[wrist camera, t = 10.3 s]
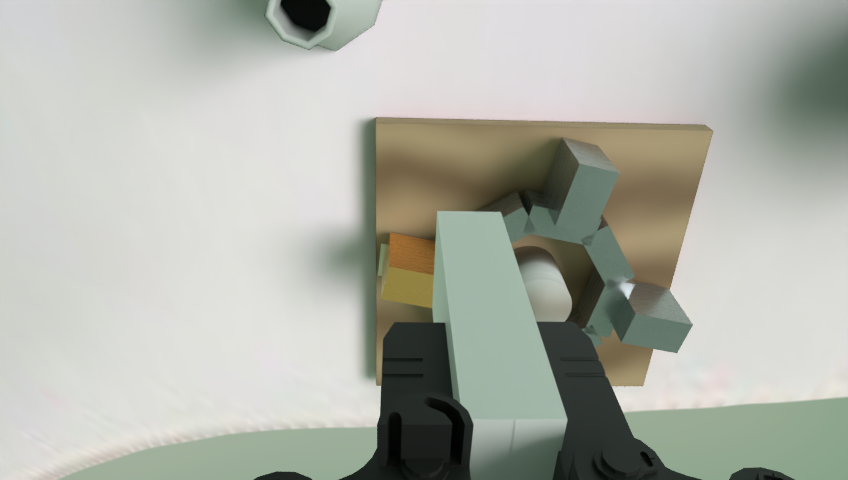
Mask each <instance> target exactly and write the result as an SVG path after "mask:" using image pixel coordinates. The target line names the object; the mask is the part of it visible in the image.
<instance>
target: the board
mask: <svg viewBox="0 0 848 480" xmlns="http://www.w3.org/2000/svg"><path fill="white" fill-rule="evenodd" d="M712 134H713V130H711V129H710V128H709V127H707V126H706V125H680V124H637V123H595V122H552V121H509V120H466V119H424V118H381V117H376V386H381V382H382V354H383V338H384V337H385V335H386V334H387V332H388V331H389V329H390V328H391V326H392V325H393V323H394V322H433V310H432V308H428V307H422V306H417V305H411V304H406V303H400V302H395V301H390V300H384V299H381V286H382V264H383V259H384V255H385V251H386V247H387V243H388V239H389V235H390V233H395V234H400V235H405V236H410V237H415V238H420V239H425V240H430V241H435V242H436V223H437V211H473V212H478V211H480V210H481V209H483V208H485V207H487V206H489V205H491V204H493V203H494V202H496V201H498V200H500V199H502V198H504V197H505V196H507V195H509V194H511V193H513V192H515V191H516V190H517V192H518V194H519V196H520V197H521V199H523V196H524V193H525V190H526V189H528V190H533V191H537V192H542V189H543V187H544V184H545V181H546V179H547V176H548V173H549V171H550V168H551V165H552V162H553V160H554V157H555V154H556V152H557V149H558V146H559V144H560V141H561V138H562V137H564V138H568V139H572V140H576V141H581V142H585V143H589V144H594V145H598V146H599V147H600V149H601V150H602V151H603V152H604V154H605V155H606V156H607V157H608V159H609V160H610V161H611V162H612V164H613V165H614V166H615V167H616V169H617V170H618V171H619V172H620V173H619V176H618V178H617V180H616V183H615V185H614V187H613V190H612V192H611V194H610V197H609V199H608V201H607V204H606V206H605V208H604V210H603V213H602V215H603V217H604V218H605V220H606V222H607V223H608V225H609V227H610V229H611V230H612V232H613V234H614V236H615V238H616V240H617V242H618V244H619V246H620V248H621V250H622V252H623V254H624V256H625V258H626V260H627V262H628V263H629V265H630V267H631V269H632V271H633V273H634V275H635V277H634V278H632V280H633V281H636V282H641V283H646V284H651V285H656V286H661V287H666V288H668V289H669V290H670V287H671V283H672V279H673V276H674V272H675V268H676V265H677V261H678V257H679V254H680V250H681V247H682V243H683V239H684V236H685V232H686V228H687V225H688V221H689V217H690V214H691V210H692V207H693V203H694V199H695V196H696V192H697V188H698V185H699V181H700V177H701V174H702V170H703V167H704V163H705V159H706V156H707V152H708V148H709V145H710V141H711V137H712ZM511 245H512V248H513V251H514V255H515V258H516V261H517V264H518V267H519V270H520V273H521V276H522V279H523V282H524V286H525V289H526V292H527V295H528V298H529V301H530V304H531V307H532V310H533V314H534V317H535V320H536V322H565V320H566V319H567V318H568V316H569V314H570V312H571V310H572V309H574V308H576V307H577V306H578V304H579V301H580V299H581V297H582V295H583V292H584V290H585V288H586V286H587V283H588V281H589V279H590V277H591V274H592V272H593V270H594V268H595V265H594V263H593V261H592V259H591V258H590V256H589V254H588V252H587V250H586V248H585V247H584V245H582V244H577V243H572V242H567V241H562V240H557V239H553V238H548V237H543V236H538V235H533V234H529V235H527V236H525V237H523V238H521V239H519V240H517V241H516V242H514V243H512V244H511ZM600 338H601V340H602V342H603V344H600V345H598V346H596V347H595V350H596V352H597V354H598V357H599V361H601V363H602V366H603V368H604V370H605V373H606V374H605V375H606V377H608V380H609V382H610V384H611V386H643V385H644V381H645V377H646V374H647V370H648V366H649V363H650V359H651V356H652V352H653V349H652V348H647V347H641V346H636V345H630V344H625V343H621V341H620V339H619V337H618V335H617V333H616V331H615V329H613V331H612V333H611V335H610V337H603V336H600Z"/></svg>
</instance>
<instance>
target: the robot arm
mask: <svg viewBox="0 0 848 480" xmlns="http://www.w3.org/2000/svg"><path fill="white" fill-rule="evenodd" d="M432 310H433V322H394V323H393V325H392V326H391V328H390V329H389V331H388V332H387V334H386V335H385V337H384V338H383V354H382V382H381V410H380V418H379V421H378V424H377V449H376V451H375V453H374V455H373V457H372V458H371V459H370V460H369V461H368V463H367V464H366V465H365V466H364V467H362V468H361V469H360V470H358V471H357V472H355V473H353V474H352V475H349V476H347V477H344V478H342V479H339V480H701V479H697V478H694V477H690V476H686V475H683V474H680V473H677V472H675V471H672V470H670V469H668V468H666V467H665V466H664V464H663V463H662V462H661V460H660V458H659V457H658V456H657V454H656V453H655V451H653V450H652V449H650V448H649V447H648V446H647V445H646V444H644V443H643V442H642V441H640V440H638V439H636V438H634V437H633V435H632V433H631V431H630V428H629V426H628V423H627V421H626V419H625V417H624V414H623V412H622V410H621V407H620V405H619V403H618V400H617V398H616V396H615V393H614V391H613V389H612V387H611V384H610V382H609V380H608V377H606V375H605V374H606V373H605V370H604V368H603V366H602V363H601V361H599V357H598V354H597V352H596V350H595V347H594V345H593V343H592V340H591V338H590V337H589V336H588V335H587V334H586V333H584V332H583V331H582V330H581V329H580V328H579V327H578V326H577V325H576V324H575V323H574V322H536V320H535V317H534V314H533V310H532V307H531V304H530V301H529V298H528V295H527V292H526V289H525V286H524V282H523V279H522V276H521V273H520V270H519V267H518V264H517V261H516V258H515V255H514V251H513V248H512V245H511V242H510V239H509V236H508V233H507V230H506V227H505V223H504V220H503V217H502V214H501V212H473V211H437V223H436V242H435V262H434V281H433V301H432ZM254 480H312V479H311V478H309V477H306V476H304V475H301V474H299V473H296V472H274V473H270V474H267V475H263V476H260V477H257V478H256V479H254ZM729 480H794V479H792V478H790V477H788V476H786V475H784V474H782V473H781V472H777V471H773V470H769V469H765V468H761V467H760V468H743V469H741V470H739V471H737V472H735V473H733V474H732V475H731V477H730V479H729Z"/></svg>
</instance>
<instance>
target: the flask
mask: <svg viewBox="0 0 848 480" xmlns="http://www.w3.org/2000/svg"><path fill="white" fill-rule="evenodd" d="M266 2H267V6H266V11H265V15H264V16H265V18H266V19H267V20H268V22H269V23H270V24H271V26H272V27H273V29H274V30H275V31H276V33H277V34H278V35H279V37H280V38H281V39H282V40H283V41H286V42H288V43H291V44H294V45H297V46H299V47H302V48H305V49H308V50H310V49H311V48H313V47H314V46H315V45H320V46H323V47H326V48H328V49H331V50H334V51H337V50H339V49H340V48H342V47H343V46H345V45H346V44H347V43H349V42H350V41H352V40H353V39H355V38H356V37H358V36H359V35H360V34H362V33H363V32H365V31H366V30H368V29H369V28H371V27H372V26H373V25H375V21H376V18H377V15H378V12H379V9H380V6H381V3H382V0H266Z"/></svg>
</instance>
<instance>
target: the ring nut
mask: <svg viewBox="0 0 848 480" xmlns="http://www.w3.org/2000/svg"><path fill="white" fill-rule="evenodd" d="M619 173H620V172H619V171H618V170H617V169H616V167H615V166H614V165H613V164H612V162H611V161H610V160H609V159H608V157H607V156H606V155H605V154H604V152H603V151H602V150H601V149H600V147H599V146H598V145H594V144H589V143H585V142H581V141H576V140H572V139H568V138H564V137H562V138H561V141H560V144H559V146H558V149H557V152H556V154H555V157H554V160H553V162H552V165H551V168H550V171H549V173H548V176H547V179H546V181H545V184H544V187H543V189H542V192H537V191H533V190H528V189H526V190H525V193H524V196H523V199H521V197H520V196H519V194H518V192H517V190H516V191H515V192H513V193H511V194H509V195H507V196H505V197H504V198H502V199H500V200H498V201H496V202H494V203H493V204H491V205H489V206H487V207H485V208H483V209H481V210H480V211H478V212H501V214H502V217H503V220H504V223H505V227H506V230H507V233H508V236H509V239H510V242H511V244H512V243H514V242H516V241H517V240H519V239H521V238H523V237H525V236H527V235H529V234H533V235H538V236H543V237H548V238H553V239H557V240H562V241H567V242H572V243H577V244H582V245H584V247H585V248H586V250H587V252H588V254H589V256H590V258H591V259H592V261H593V263H594V265H595V268H594V270H593V272H592V274H591V277H590V279H589V281H588V283H587V286H586V288H585V290H584V292H583V295H582V297H581V299H580V301H579V304H578V306H577V307H576V308H574V309H572V310H571V312H570V314H569V316H568V318H567V319H566V320H565V322H574V323H575V324H576V325H577V326H578V327H579V328H580V329H581V330H582V331H583V332H584V333H586V334H587V335H588V336H589V337H590V338H591V340H592V343H593V345H594V347H596V346H598V345H600V344H603V342H602V340H601V338H600V336H603V337H610V335H611V333H612V331H613V329H615V331H616V333H617V335H618V337H619V339H620V341H621V343H625V344H630V345H636V346H641V347H647V348H652V349H657V350H663V351H668V352H674V353H677V352H678V350H679V348H680V347H681V345H682V343H683V341H684V340H685V338H686V336H687V334H688V332H689V331H690V329H691V327H692V325H693V324H692V323H691V321H690V320H689V318H688V317H687V315H686V314H685V313H684V311H683V310H682V308H681V307H680V305H679V304H678V302H677V301H676V299H675V298H674V296H673V295H672V294H671V292H670V291H669V289H668V288H666V287H661V286H656V285H651V284H646V283H641V282H636V281H633V280H632V278H634V277H635V275H634V273H633V271H632V269H631V267H630V265H629V263H628V262H627V260H626V258H625V256H624V254H623V252H622V250H621V248H620V246H619V244H618V242H617V240H616V238H615V236H614V234H613V232H612V230H611V229H610V227H609V225H608V223H607V222H606V220H605V218H604V217H603V215H602V213H603V210H604V208H605V206H606V204H607V201H608V199H609V197H610V194H611V192H612V190H613V187H614V185H615V183H616V180H617V178H618V176H619ZM434 262H435V241H430V240H425V239H420V238H415V237H410V236H405V235H400V234H395V233H390V235H389V239H388V243H387V247H386V251H385V255H384V259H383V264H382V286H381V299H384V300H390V301H395V302H400V303H406V304H411V305H417V306H422V307H428V308H432V301H433V281H434Z"/></svg>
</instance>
